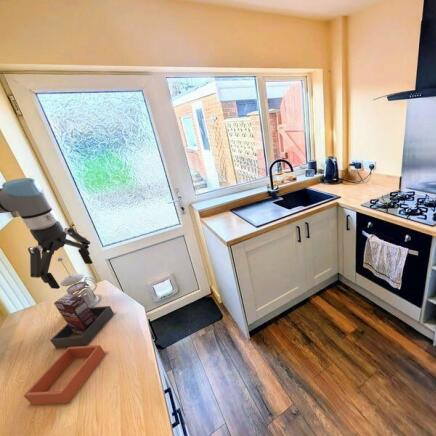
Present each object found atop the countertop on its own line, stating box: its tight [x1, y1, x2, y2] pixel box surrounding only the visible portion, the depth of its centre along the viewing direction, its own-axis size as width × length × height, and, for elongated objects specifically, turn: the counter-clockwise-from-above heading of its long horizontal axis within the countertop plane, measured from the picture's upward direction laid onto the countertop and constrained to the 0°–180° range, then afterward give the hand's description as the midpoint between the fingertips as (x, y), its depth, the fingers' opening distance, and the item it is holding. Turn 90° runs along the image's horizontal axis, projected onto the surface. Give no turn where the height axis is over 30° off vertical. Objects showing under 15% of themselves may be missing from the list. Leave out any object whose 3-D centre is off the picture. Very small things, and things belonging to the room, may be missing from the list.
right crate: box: [49, 305, 115, 350], centre depth 96 cm, size 12×16×4 cm
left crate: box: [23, 344, 106, 406], centre depth 78 cm, size 12×16×4 cm
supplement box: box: [53, 294, 97, 335], centre depth 94 cm, size 9×5×16 cm, turn 76°
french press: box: [56, 256, 100, 307], centre depth 107 cm, size 10×12×25 cm
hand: (73, 274), depth 91 cm, fingers open, 13 cm apart
